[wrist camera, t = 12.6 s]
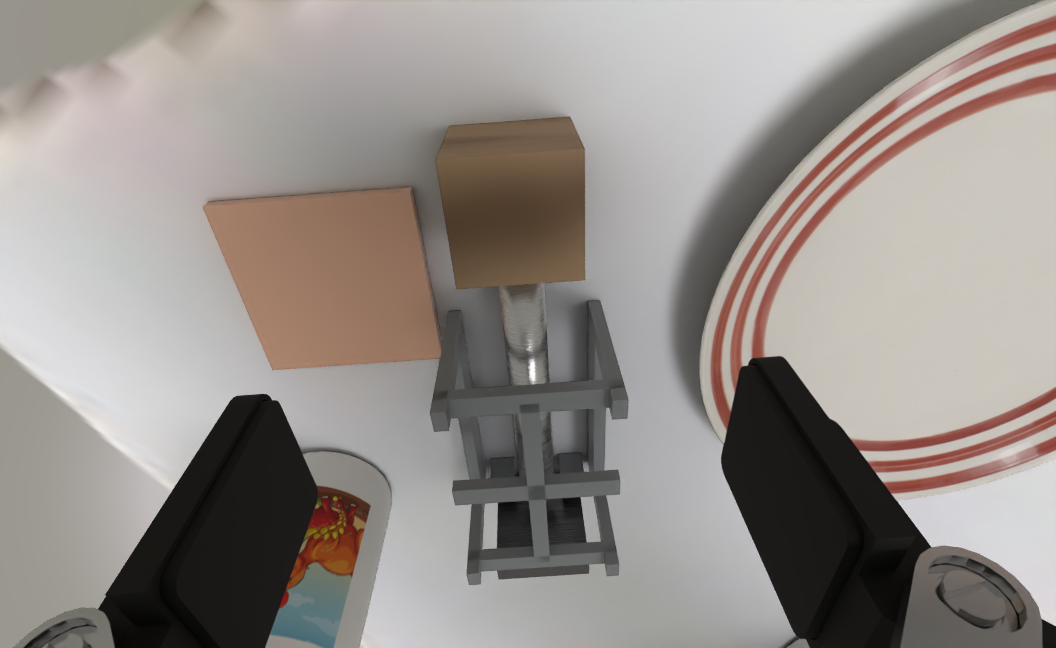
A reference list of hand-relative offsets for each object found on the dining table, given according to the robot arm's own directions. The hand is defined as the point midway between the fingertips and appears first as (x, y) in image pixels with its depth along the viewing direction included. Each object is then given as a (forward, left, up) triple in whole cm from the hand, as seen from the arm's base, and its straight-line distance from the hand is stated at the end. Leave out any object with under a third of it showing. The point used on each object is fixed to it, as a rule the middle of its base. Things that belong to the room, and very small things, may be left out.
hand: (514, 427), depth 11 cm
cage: (-12, 0, -15) cm, 19 cm away
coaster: (-4, +9, -15) cm, 18 cm away
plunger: (-11, 0, -14) cm, 18 cm away
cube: (0, 0, -15) cm, 15 cm away
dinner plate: (-7, -22, -15) cm, 28 cm away
